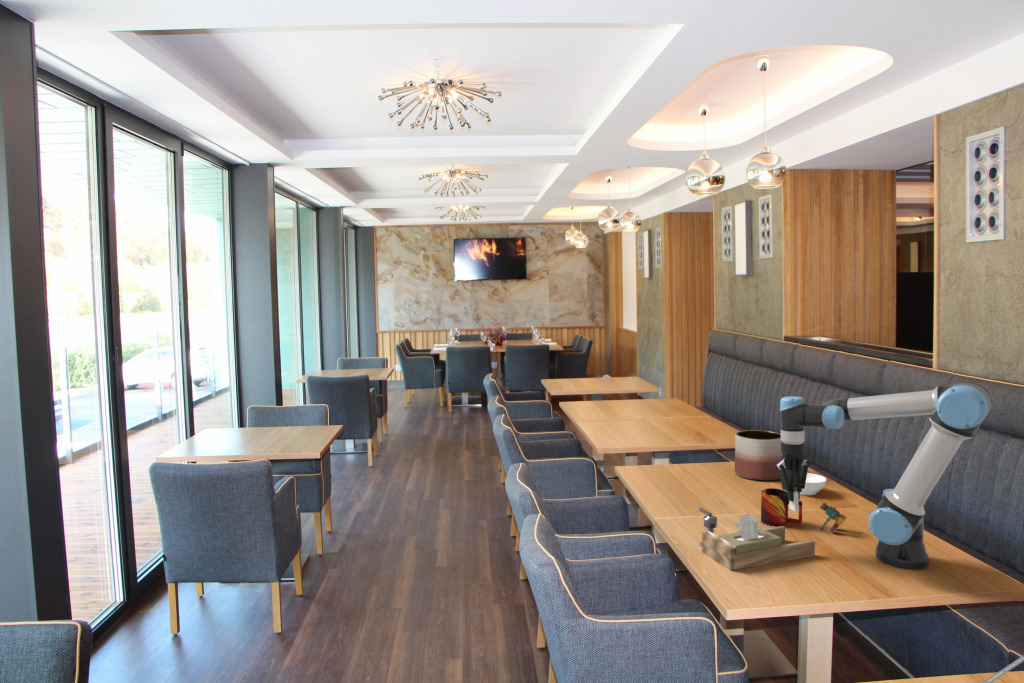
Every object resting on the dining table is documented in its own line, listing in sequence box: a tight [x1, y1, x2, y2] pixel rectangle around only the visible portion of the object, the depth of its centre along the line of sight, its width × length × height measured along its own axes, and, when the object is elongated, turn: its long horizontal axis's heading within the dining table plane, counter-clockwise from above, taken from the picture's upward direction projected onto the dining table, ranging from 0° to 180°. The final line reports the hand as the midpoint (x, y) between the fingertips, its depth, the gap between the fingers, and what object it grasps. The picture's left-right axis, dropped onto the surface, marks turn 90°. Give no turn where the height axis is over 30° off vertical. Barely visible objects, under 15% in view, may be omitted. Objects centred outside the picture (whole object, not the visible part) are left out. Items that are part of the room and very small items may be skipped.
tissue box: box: [718, 512, 782, 554], centre depth 216 cm, size 19×10×16 cm, turn 110°
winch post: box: [698, 507, 718, 547], centre depth 229 cm, size 8×5×12 cm, turn 18°
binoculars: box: [819, 502, 848, 534], centre depth 241 cm, size 9×9×10 cm
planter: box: [734, 429, 783, 482], centre depth 313 cm, size 22×22×20 cm
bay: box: [701, 526, 816, 571], centre depth 220 cm, size 15×34×8 cm, turn 108°
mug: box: [760, 487, 803, 527], centre depth 249 cm, size 10×14×12 cm
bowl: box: [800, 472, 827, 496], centre depth 285 cm, size 16×16×7 cm
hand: (794, 509), depth 223 cm, fingers closed
